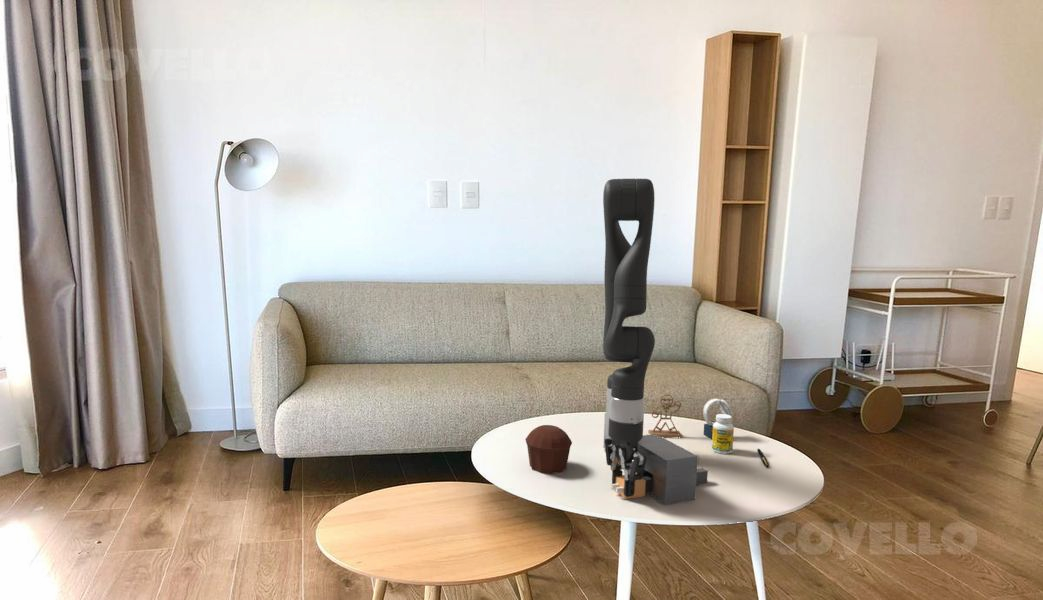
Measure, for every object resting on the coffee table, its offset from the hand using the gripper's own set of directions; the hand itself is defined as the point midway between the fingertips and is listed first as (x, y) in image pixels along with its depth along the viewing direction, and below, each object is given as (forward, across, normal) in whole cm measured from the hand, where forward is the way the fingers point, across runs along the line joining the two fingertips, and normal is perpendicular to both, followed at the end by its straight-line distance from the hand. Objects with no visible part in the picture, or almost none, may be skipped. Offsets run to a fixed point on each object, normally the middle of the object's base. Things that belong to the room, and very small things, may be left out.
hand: (622, 490), depth 152 cm
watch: (+1, -26, +47) cm, 53 cm away
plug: (+1, 0, +10) cm, 10 cm away
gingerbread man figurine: (+1, -32, +34) cm, 46 cm away
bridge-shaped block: (+1, 0, +10) cm, 10 cm away
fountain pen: (+1, -8, +47) cm, 47 cm away
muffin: (+1, -21, -8) cm, 23 cm away
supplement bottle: (+1, -16, +41) cm, 44 cm away
